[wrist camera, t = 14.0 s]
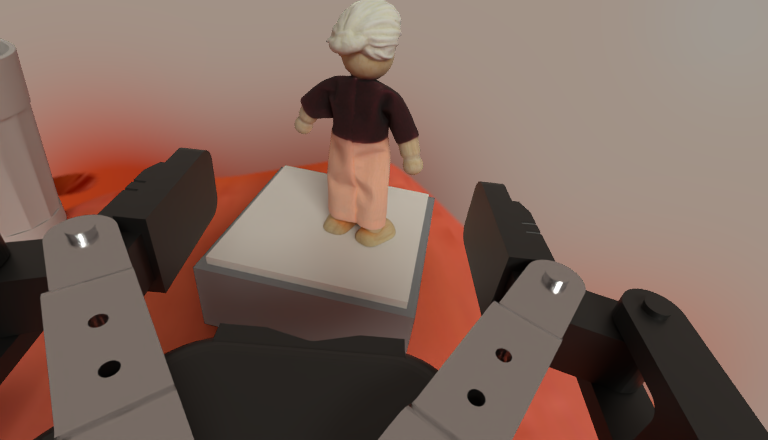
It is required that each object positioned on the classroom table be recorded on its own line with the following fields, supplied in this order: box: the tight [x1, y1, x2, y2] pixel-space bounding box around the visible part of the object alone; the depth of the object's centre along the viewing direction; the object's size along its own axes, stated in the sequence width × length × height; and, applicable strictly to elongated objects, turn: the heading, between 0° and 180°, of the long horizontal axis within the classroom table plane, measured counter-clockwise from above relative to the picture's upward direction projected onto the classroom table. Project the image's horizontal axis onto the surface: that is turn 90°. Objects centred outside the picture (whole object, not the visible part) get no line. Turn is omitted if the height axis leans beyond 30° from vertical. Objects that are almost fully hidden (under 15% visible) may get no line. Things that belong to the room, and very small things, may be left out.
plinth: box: [193, 165, 435, 353], centre depth 27 cm, size 12×12×5 cm
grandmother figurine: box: [295, 0, 423, 247], centre depth 22 cm, size 8×4×13 cm, turn 75°
